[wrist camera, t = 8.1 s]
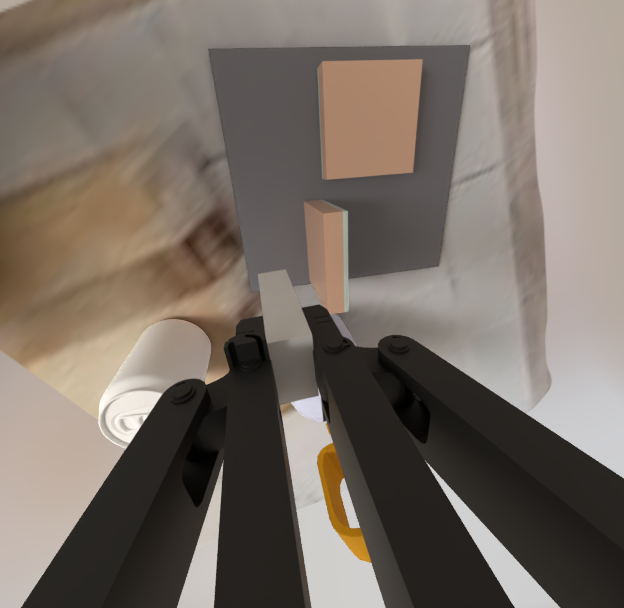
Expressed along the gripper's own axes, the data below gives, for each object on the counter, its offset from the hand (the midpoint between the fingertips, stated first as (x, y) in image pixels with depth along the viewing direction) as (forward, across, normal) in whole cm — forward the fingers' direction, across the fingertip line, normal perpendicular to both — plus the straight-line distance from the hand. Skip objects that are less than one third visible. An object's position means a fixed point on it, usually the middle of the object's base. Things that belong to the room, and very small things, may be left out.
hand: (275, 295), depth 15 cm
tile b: (+17, +6, -2) cm, 18 cm away
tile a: (+16, +7, +9) cm, 20 cm away
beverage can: (+18, -12, -13) cm, 25 cm away
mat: (+18, +10, +4) cm, 21 cm away
